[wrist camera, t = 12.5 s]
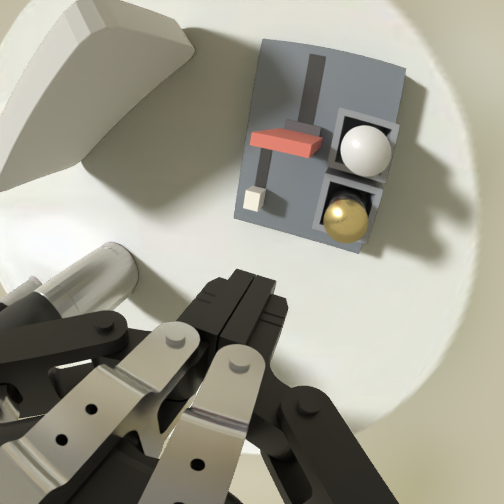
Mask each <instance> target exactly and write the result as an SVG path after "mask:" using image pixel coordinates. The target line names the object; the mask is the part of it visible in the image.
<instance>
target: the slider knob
mask: <svg viewBox="0 0 504 504" xmlns="http://www.w3.org/2000/svg"><path fill="white" fill-rule="evenodd" d="M265 193H266V189H264V188H260V187H256V186H251V187H250V188H248V189H247V190H246V192H245V198H244V205H243V208H245V209H248V210H252V211H256V212H258V211H259V210H260V209H261V208H262V207H263V204H264V198H265Z"/></svg>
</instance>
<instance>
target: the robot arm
mask: <svg viewBox="0 0 504 504" xmlns="http://www.w3.org/2000/svg"><path fill="white" fill-rule="evenodd" d="M137 282H138V270H137V266H136V264H135V261H134V259H133V258H132V256H131V255H130V253H129V252H128V251H127V250H126V249H125V248H124V247H122V246H121V245H119V244H117V243H113V242H109V243H106V244H104V245H102V246H101V247H99V248H98V249H96V250H94V251H93V252H91V253H89V254H88V255H86V256H85V257H83V258H82V259H80V260H79V261H77V262H75V263H74V264H72V265H71V266H69V267H68V268H66V269H65V270H63V271H62V272H60V273H59V274H57V275H56V276H54V277H53V278H51V279H50V280H48V281H47V282H46V283H44V284H43V285H41V286H40V287H38V288H37V289H36V290H34V291H33V292H31V293H30V294H28V295H27V296H25V297H24V298H22V299H20V300H18V301H16V302H14V303H12V304H11V305H9V306H8V307H6V308H5V309H4V310H2V311H1V312H0V504H243V503H242V502H240V500H239V499H238V498H237V497H235V496H234V495H233V494H232V493H230V492H229V491H228V490H229V487H230V484H231V481H232V478H233V475H234V472H235V469H236V466H237V463H238V460H239V456H240V453H241V450H242V447H243V444H244V440H245V439H246V440H248V441H249V442H251V443H252V444H254V445H255V446H256V447H258V448H259V449H260V452H261V455H262V457H263V460H264V462H265V464H266V466H267V468H268V470H269V472H270V475H271V476H272V479H273V481H274V483H275V485H276V487H277V489H278V491H279V493H280V495H281V497H282V499H283V501H284V503H285V504H399V503H398V501H397V500H396V498H395V497H394V495H393V494H392V492H391V491H390V490H389V488H388V486H387V485H386V484H385V482H384V481H383V479H382V477H381V476H380V474H379V473H378V472H377V470H376V468H375V467H374V465H373V464H372V462H371V461H370V459H369V458H368V456H367V455H366V453H365V452H364V450H363V449H362V447H361V446H360V444H359V443H358V441H357V440H356V438H355V436H354V435H353V433H352V432H351V430H350V429H349V427H348V426H347V424H346V423H345V421H344V420H343V418H342V417H341V415H340V413H339V412H338V410H337V409H336V407H335V406H334V404H333V403H332V401H331V400H330V398H329V397H328V396H327V395H326V394H325V393H324V392H322V391H321V390H319V389H317V388H314V387H310V386H297V387H294V388H290V387H289V386H287V385H285V384H284V383H282V382H281V381H280V380H278V379H277V378H276V377H275V375H274V374H273V372H272V371H271V368H270V362H271V359H272V356H273V354H274V351H275V348H276V346H277V343H278V340H279V337H280V334H281V331H282V328H283V324H284V321H285V318H286V315H287V311H288V305H287V301H286V298H283V297H280V296H277V295H274V290H275V286H276V281H275V280H272V279H269V278H265V277H262V276H259V275H257V276H256V275H255V274H252V273H249V272H246V271H243V270H239V269H236V270H235V271H234V273H233V274H232V275H231V277H230V278H229V279H228V280H226V279H223V278H220V277H219V278H216V279H214V280H212V281H210V282H208V283H207V284H206V286H205V287H204V288H203V289H202V291H201V292H200V293H199V294H198V295H197V296H196V299H194V300H193V301H192V302H191V304H190V305H189V306H188V307H187V308H186V310H185V311H184V312H183V313H182V314H181V316H180V317H179V318H178V319H177V320H176V321H172V322H166V323H163V324H161V325H159V326H158V327H156V328H155V329H154V330H153V331H143V330H137V329H131V328H128V326H127V321H126V319H125V318H124V316H122V315H121V314H120V313H118V312H115V311H113V310H114V309H115V308H116V307H117V306H118V305H119V304H121V303H122V302H123V301H124V300H125V299H126V298H127V297H129V296H130V295H131V294H132V293H133V288H134V287H135V285H136V284H137ZM88 359H91V360H92V362H91V363H87V364H82V365H78V366H73V367H68V368H64V369H58V368H55V366H60V365H65V364H70V363H74V362H79V361H84V360H88ZM202 382H203V383H202ZM201 383H202V385H201ZM200 385H201V387H200ZM199 387H200V389H199V391H198V393H197V396H196V392H197V390H198V388H199ZM195 397H196V398H195ZM194 399H195V400H194ZM193 401H194V402H193ZM192 402H193V404H192ZM191 404H192V406H191V407H190V405H191ZM189 407H190V408H189ZM42 414H46V415H42ZM37 415H41V416H37ZM30 416H37V417H31V418H26V419H22V420H18V418H24V417H30ZM175 426H176V427H175ZM174 427H175V429H174ZM173 429H174V431H173V433H172V435H171V437H170V439H169V441H168V443H167V446H166V448H165V450H164V452H163V454H162V456H161V458H160V459H158V457H159V455H160V453H161V451H162V448H163V444H164V442H165V440H166V438H167V437H168V436H169V434H170V433H171V431H172V430H173Z"/></svg>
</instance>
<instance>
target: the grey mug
mask: <svg viewBox="0 0 504 504" xmlns="http://www.w3.org/2000/svg"><path fill="white" fill-rule="evenodd" d="M41 285H42V284H41V282H40V281H39V280H38V279H37V278H36V277H34V276H31V277H30V278H29V280H28V281H26V282H25V283H23V284H22V285H20V286H19V287H17V288H16V289H14V290H13V291H12V292H10V293H9V294H7V295H6V296H5V297H3V298H2V299H0V312H1V311H2V310H4V309H5V308H6V307H8V306H9V305H11V304H12V303H14V302H16V301H18V300H20V299H22V298H24V297H25V296H27V295H28V294H30V293H31V292H33V291H34V290H36V289H37V288H38V287H40V286H41Z"/></svg>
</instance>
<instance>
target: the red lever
mask: <svg viewBox="0 0 504 504" xmlns="http://www.w3.org/2000/svg"><path fill="white" fill-rule="evenodd" d="M321 130H322V127H320V126H316V125H312V124H307V123H303V122H298V121H293V120H288V119H285V125H284V129H282V128H277V129H270V130H263V131H256V132H252V134H251V140H250V145H251V146H256V147H261V148H266V149H270V150H275V151H280V152H284V153H288V154H293V155H297V156H301V157H305V158H310V157H311V156H312V155H313V156H316V154H317V151H318V150H319V149H320V148H321V145H322V141H323V138H322V137H320V135H321Z"/></svg>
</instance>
